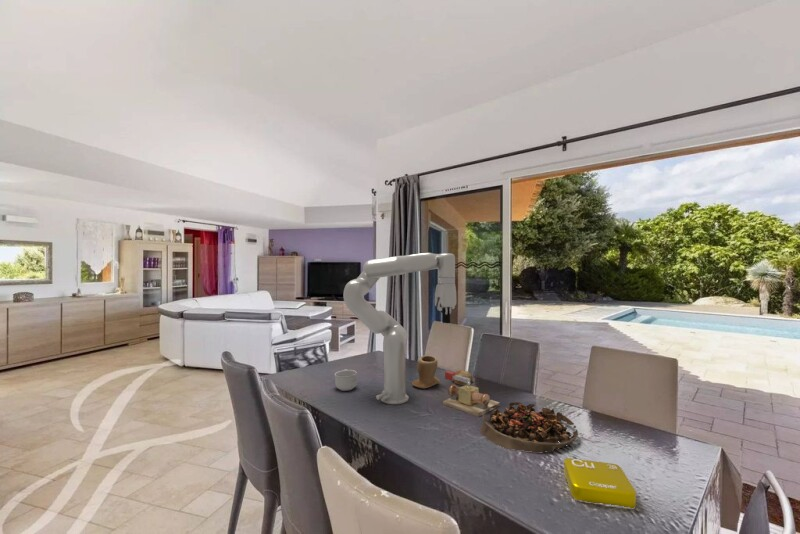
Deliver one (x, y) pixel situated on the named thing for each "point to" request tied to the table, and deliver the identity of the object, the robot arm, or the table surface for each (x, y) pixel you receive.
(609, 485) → the element tile
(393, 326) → the robot arm
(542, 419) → the food dish
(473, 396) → the valve pipe
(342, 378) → the teacup
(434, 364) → the stone cup
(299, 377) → the table surface
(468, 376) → the bread roll
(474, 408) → the beige board
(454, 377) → the valve lever
